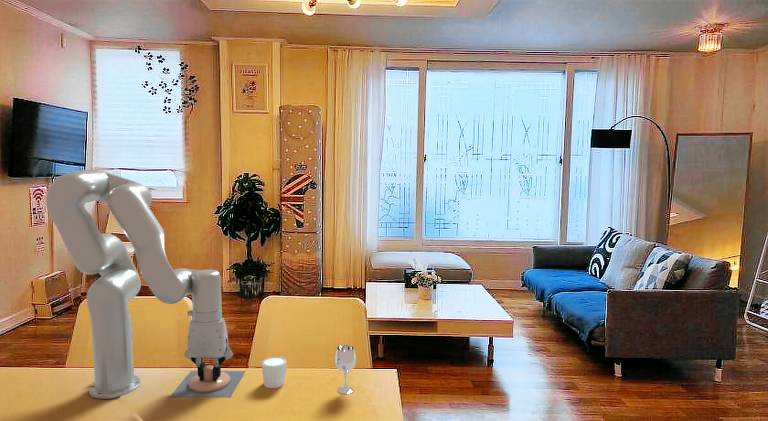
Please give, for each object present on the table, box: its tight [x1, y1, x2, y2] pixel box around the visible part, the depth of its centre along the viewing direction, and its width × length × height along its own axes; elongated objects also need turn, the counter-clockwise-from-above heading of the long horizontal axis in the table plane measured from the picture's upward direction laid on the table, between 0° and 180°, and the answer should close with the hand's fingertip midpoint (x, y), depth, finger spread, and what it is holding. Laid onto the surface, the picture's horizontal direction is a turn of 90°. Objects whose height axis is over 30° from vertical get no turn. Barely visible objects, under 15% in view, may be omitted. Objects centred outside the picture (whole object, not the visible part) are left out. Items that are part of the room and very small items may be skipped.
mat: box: [169, 370, 246, 398], centre depth 145 cm, size 16×16×1 cm
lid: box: [188, 364, 230, 393], centre depth 145 cm, size 11×11×4 cm
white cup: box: [261, 356, 287, 389], centre depth 145 cm, size 7×7×7 cm
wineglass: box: [334, 344, 357, 395], centre depth 142 cm, size 6×6×12 cm
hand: (209, 378), depth 145 cm, fingers closed on lid, 3 cm apart
